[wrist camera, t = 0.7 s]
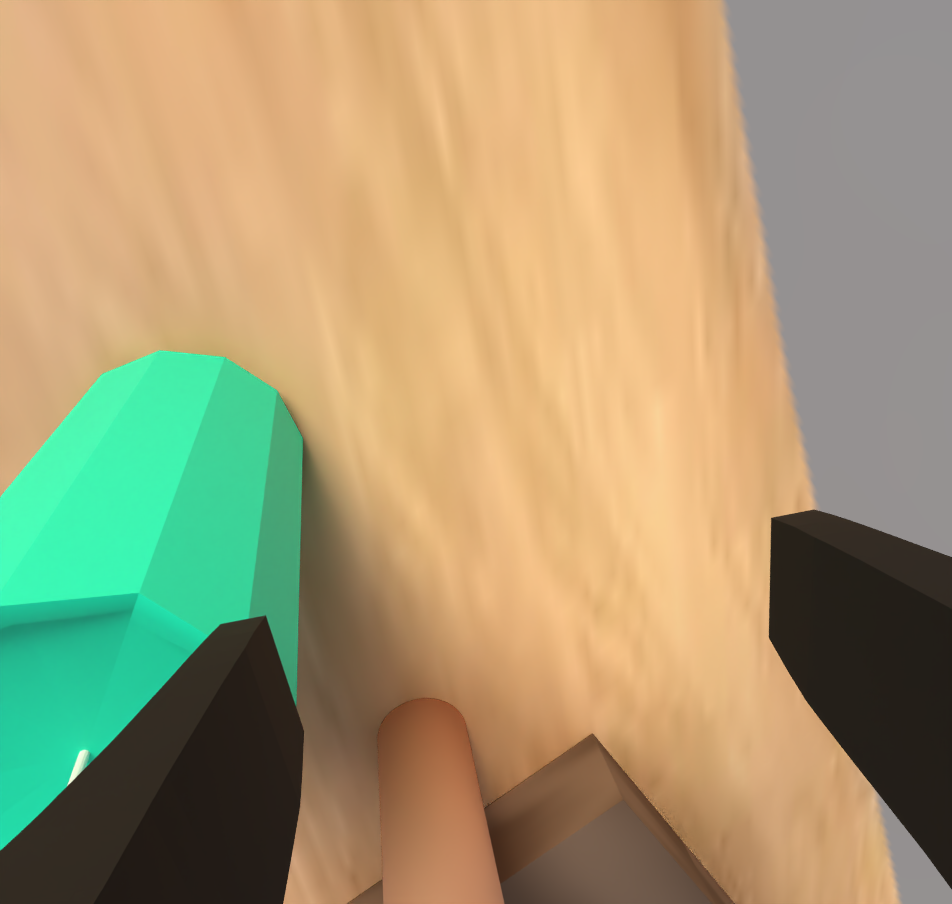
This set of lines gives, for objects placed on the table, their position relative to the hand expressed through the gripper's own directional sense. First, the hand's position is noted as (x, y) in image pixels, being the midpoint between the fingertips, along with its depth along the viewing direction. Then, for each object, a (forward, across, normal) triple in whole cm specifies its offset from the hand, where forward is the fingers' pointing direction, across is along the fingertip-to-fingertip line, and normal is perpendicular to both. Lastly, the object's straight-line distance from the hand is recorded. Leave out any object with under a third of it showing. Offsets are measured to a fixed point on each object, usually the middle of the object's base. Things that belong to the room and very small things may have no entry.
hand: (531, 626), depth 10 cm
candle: (+10, +8, 0) cm, 13 cm away
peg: (+10, +3, +12) cm, 16 cm away
